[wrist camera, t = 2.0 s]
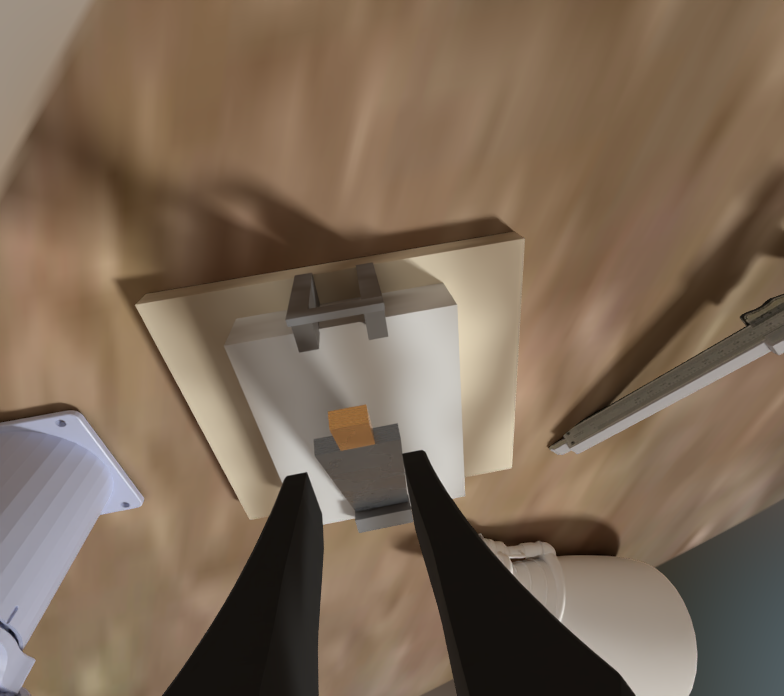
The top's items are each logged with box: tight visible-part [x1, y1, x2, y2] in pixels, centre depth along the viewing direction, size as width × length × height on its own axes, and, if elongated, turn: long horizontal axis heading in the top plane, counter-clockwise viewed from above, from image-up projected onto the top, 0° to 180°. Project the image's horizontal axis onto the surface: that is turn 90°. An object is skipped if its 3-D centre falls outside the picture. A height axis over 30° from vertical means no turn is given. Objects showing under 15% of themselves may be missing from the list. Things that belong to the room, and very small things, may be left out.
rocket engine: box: [478, 533, 697, 696], centre depth 32 cm, size 12×12×18 cm
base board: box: [135, 232, 525, 533], centre depth 21 cm, size 18×16×6 cm
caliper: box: [549, 294, 784, 455], centre depth 22 cm, size 20×1×6 cm, turn 140°
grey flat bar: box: [313, 404, 408, 512], centre depth 17 cm, size 3×13×1 cm, turn 7°
